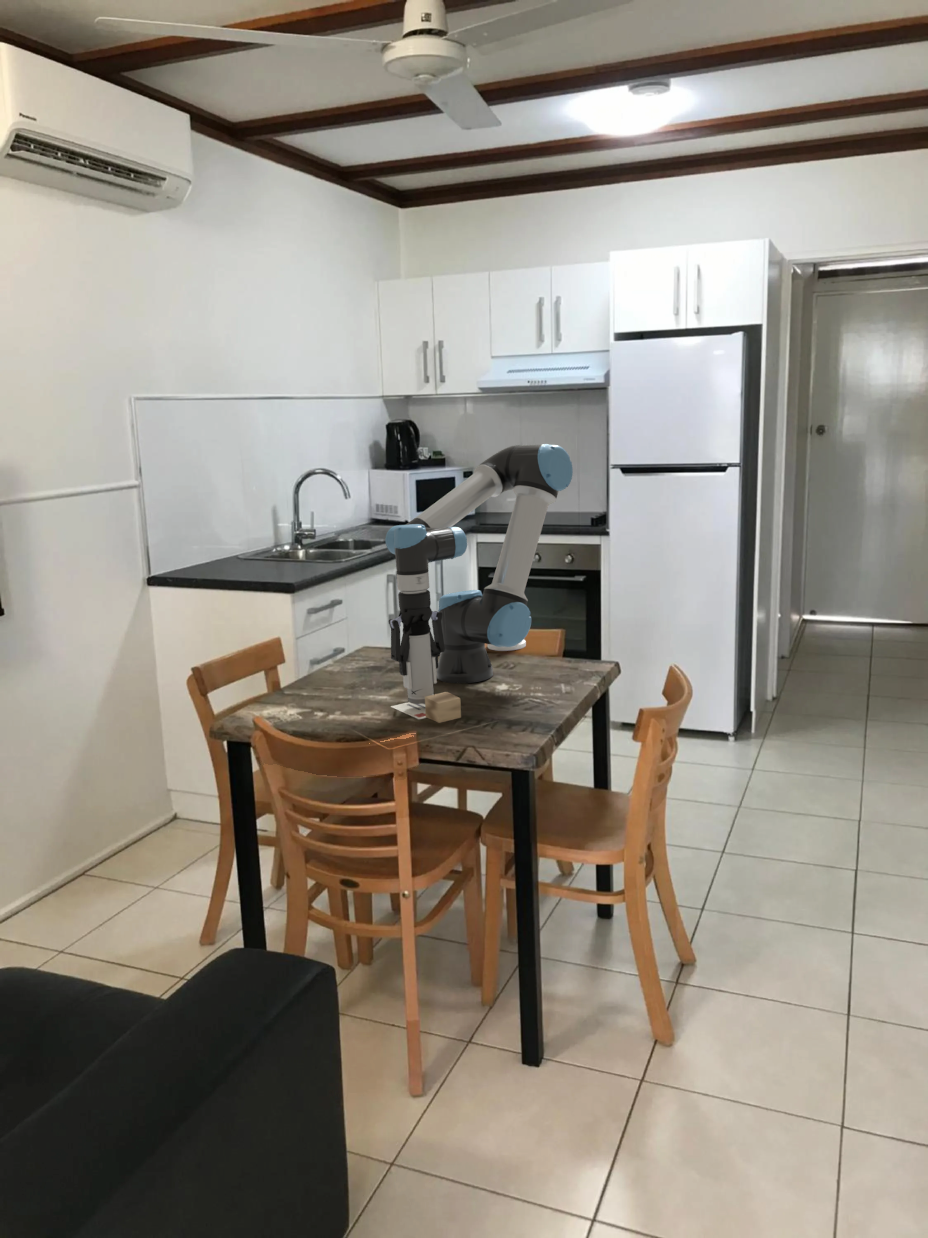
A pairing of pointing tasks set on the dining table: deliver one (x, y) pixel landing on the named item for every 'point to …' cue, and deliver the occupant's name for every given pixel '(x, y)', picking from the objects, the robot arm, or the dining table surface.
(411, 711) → the letter
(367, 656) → the dining table surface
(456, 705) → the oak block
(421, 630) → the travel mug
